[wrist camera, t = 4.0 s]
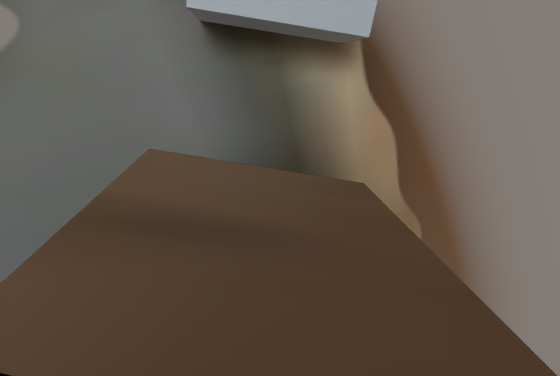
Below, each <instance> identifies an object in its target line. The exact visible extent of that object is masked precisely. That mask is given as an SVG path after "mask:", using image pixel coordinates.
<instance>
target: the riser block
mask: <svg viewBox="0 0 560 376" xmlns="http://www.w3.org/2000/svg"><path fill="white" fill-rule="evenodd" d="M376 4H377V0H187V8H188V9H189V10H190V11H191V12H192V13H193V14H194V15H195V16H196V17H197V18H198V19H199V20H200V21H206V22H212V23H218V24H224V25H231V26H237V27H243V28H249V29H256V30H262V31H268V32H274V33H281V34H287V35H293V36H300V37H306V38H312V39H318V40H325V41H331V42H337V43H346V42H350V41H355V40H359V39H364V38H368V37H369V35H370V31H371V27H372V22H373V18H374V13H375V9H376Z"/></svg>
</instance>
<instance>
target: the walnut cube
mask: <svg viewBox="0 0 560 376" xmlns="http://www.w3.org/2000/svg"><path fill="white" fill-rule="evenodd" d="M0 376H557V375H556V374H555V373H554V372H553V371H552V370H551V369H550V368H549V367H548V366H547V365H546V364H545V363H544V362H543V361H542V360H541V359H540V358H539V357H538V356H537V355H536V354H535V353H534V352H533V351H532V350H531V349H530V348H529V347H528V346H527V345H526V344H525V343H524V342H523V341H522V340H521V339H520V338H519V337H518V336H517V335H516V334H515V333H514V332H513V331H512V330H511V329H510V328H509V327H508V326H507V325H506V324H504V322H503V321H502V320H501V319H500V318H499V317H498V316H497V315H496V314H495V313H494V312H493V311H492V310H491V309H490V308H488V306H487V305H486V304H485V303H484V302H483V301H482V300H481V299H480V298H478V297H477V295H476V294H474V292H473V291H472V290H470V289H469V288H468V286H467V285H465V284H464V283H463V282H462V281H461V280H460V279H459V278H458V277H457V276H456V275H455V274H454V273H453V272H452V271H451V270H450V269H449V268H448V267H447V266H446V265H445V264H444V263H443V262H442V261H441V260H440V259H439V258H438V257H437V256H436V255H435V254H434V253H433V252H432V251H431V250H430V249H429V248H428V247H427V246H426V245H425V244H424V243H423V242H422V241H421V240H420V239H419V238H418V237H417V236H416V235H415V234H414V233H413V232H412V231H411V230H410V229H409V228H408V227H407V226H406V225H405V224H404V223H403V222H402V221H401V220H400V219H399V218H398V217H397V216H396V215H395V214H394V213H393V212H392V211H391V210H390V209H389V208H388V207H387V206H386V205H385V204H384V203H383V202H382V201H381V200H380V199H379V198H378V197H377V196H376V195H375V194H374V193H373V192H372V191H371V190H370V189H369V188H368V187H367V186H366V185H365V184H364V183H359V182H352V181H346V180H340V179H334V178H328V177H322V176H315V175H309V174H303V173H297V172H291V171H284V170H278V169H272V168H266V167H260V166H253V165H247V164H241V163H235V162H229V161H223V160H216V159H210V158H204V157H198V156H192V155H185V154H179V153H173V152H167V151H161V150H154V149H149V150H147V151H146V152H145V153H144V154H143V155H142V156H141V157H140V158H139V159H137V160H136V161H135V162H134V163H133V164H132V165H131V166H130V167H129V168H128V169H126V170H125V171H124V172H123V173H122V174H121V175H120V176H119V177H118V178H116V179H115V180H114V181H113V182H112V183H111V184H110V185H109V186H108V187H107V188H105V189H104V190H103V191H102V192H101V193H100V194H99V195H98V196H97V197H95V198H94V199H93V200H92V201H91V202H90V203H89V204H88V205H87V206H86V207H84V208H83V209H82V210H81V211H80V212H79V213H78V214H77V215H76V216H74V217H73V218H72V219H71V220H70V221H69V222H68V223H67V224H66V225H65V226H63V227H62V228H61V229H60V230H59V231H58V232H57V233H56V234H55V235H53V236H52V237H51V238H50V239H49V240H48V241H47V242H46V243H45V244H44V245H42V246H41V247H40V248H39V249H38V250H37V251H36V252H35V253H34V254H32V255H31V256H30V257H29V258H28V259H27V260H26V261H25V262H24V263H22V264H21V265H20V266H19V267H18V268H17V269H16V270H15V271H14V272H13V273H11V274H10V275H9V276H8V277H7V278H6V279H5V280H4V281H3V282H1V283H0Z"/></svg>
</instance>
